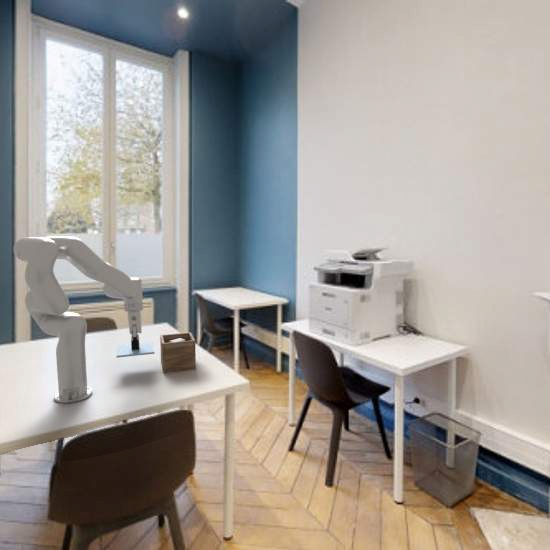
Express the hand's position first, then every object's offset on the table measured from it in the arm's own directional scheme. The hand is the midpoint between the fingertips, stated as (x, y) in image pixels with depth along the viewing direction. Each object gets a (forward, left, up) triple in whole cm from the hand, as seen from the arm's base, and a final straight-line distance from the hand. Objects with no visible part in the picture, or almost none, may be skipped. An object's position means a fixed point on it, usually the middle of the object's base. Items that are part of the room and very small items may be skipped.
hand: (135, 347), depth 170 cm
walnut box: (0, -18, -10) cm, 21 cm away
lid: (0, 0, -1) cm, 1 cm away
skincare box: (0, -18, -11) cm, 21 cm away
